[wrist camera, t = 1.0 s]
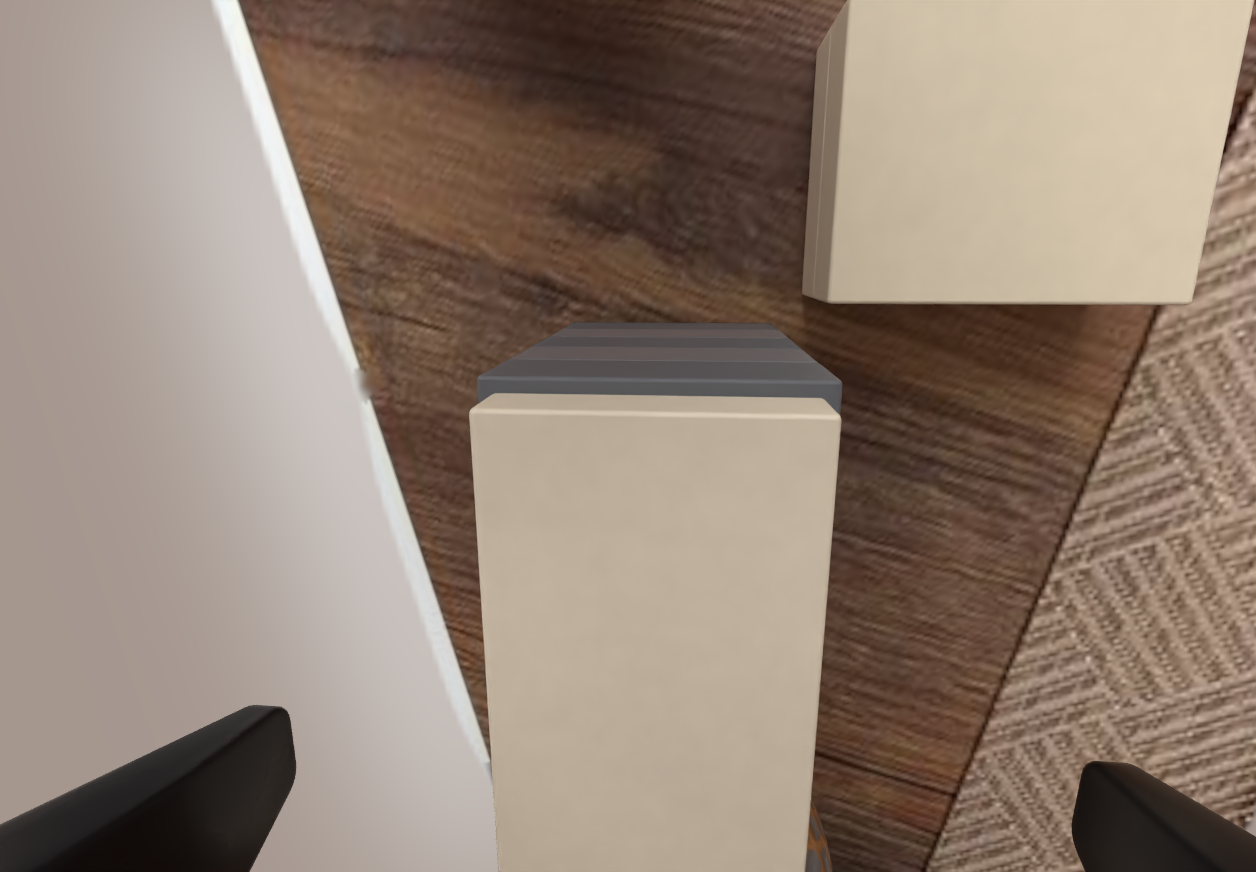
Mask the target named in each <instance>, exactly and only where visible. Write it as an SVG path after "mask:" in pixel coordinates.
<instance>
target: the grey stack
mask: <svg viewBox="0 0 1256 872" xmlns="http://www.w3.org/2000/svg"><path fill="white" fill-rule="evenodd" d="M477 390H478V404H479V403H480V402H482V401H483V400H485V399H486V398H488V397H489V396H491V395H492V394H495V393H524V394H590V395H657V396H723V397H790V398H822V399H824V400H826V402H827V403H828V404H829V405H830V406H831V407H832V408H833V409H834V410H835V411H836V412H837V413H838V414H839V415H840V410H841V397H842V382H841V380H839V379H838V378H837V377H836V376H834V375H833V374H832V373H831V372H830V371H828V370H827V369H826V368H825V367H823V366H822V365H821V364H819V363H818V362H816V361H815V360H814V359H813V358H812V357H810V356H809V355H808V354H807V353H805V352H804V351H803V350H802V349H801V348H800V347H799V346H797V345H796V344H795V343H794V342H792V341H791V340H790V339H789V338H788V337H786V336H785V335H784V334H783V333H782V332H780V331H779V330H778V329H777V328H776V327H774V326H773V325H772V324H770V323H622V322H574V323H572V324H570V325H569V326H567V327H565V328H563V329H562V330H560V331H558V332H556V333H555V334H553V335H551V336H549V337H548V338H546V339H544V340H542V341H540V342H539V343H537V344H535V345H533V346H531V348H529V349H527V350H525V351H523V352H522V353H520V354H518V355H516V356H514V357H513V358H511V359H509V360H507V361H505V362H503V363H501V364H499V365H497V366H496V367H494V368H492V369H490V370H488V371H487V372H485V373H483V374H481V375H479V376H478V378H477Z"/></svg>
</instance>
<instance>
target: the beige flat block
mask: <svg viewBox="0 0 1256 872" xmlns="http://www.w3.org/2000/svg"><path fill="white" fill-rule="evenodd" d="M469 418H470V433H471V449H472V465H473V480H474V496H475V512H476V527H477V543H478V559H479V574H480V590H481V605H482V621H483V637H484V652H485V668H486V684H487V699H488V715H489V731H490V746H491V762H492V778H493V793H494V809H495V823H496V824H495V825H496V840H497V855H498V871H499V872H805V866H806V854H807V841H808V829H809V817H810V804H811V792H812V779H813V767H814V755H815V742H816V730H817V717H818V705H819V693H820V680H821V668H822V655H823V643H824V631H825V618H826V606H827V593H828V581H829V568H830V556H831V544H832V531H833V519H834V506H835V494H836V482H837V469H838V457H839V444H840V432H841V417H840V415H839V414H838V413H837V412H836V411H835V410H834V409H833V408H832V407H831V406H830V405H829V404H828V403H827V402H826V400H824V399H822V398H790V397H723V396H657V395H590V394H524V393H495V394H492V395H491V396H489V397H488V398H486V399H485V400H483V401H482V402H480V403H479V404H478V405H476V406H475V407H473V408H472V409H471V410H470V412H469Z"/></svg>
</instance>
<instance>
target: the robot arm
mask: <svg viewBox="0 0 1256 872" xmlns="http://www.w3.org/2000/svg"><path fill="white" fill-rule="evenodd" d="M295 774H296V760H295V751H294V745H293V736H292V729H291V721H290V717H289V714H288V712H287V711H286V710H285V709H284V708H282V707H276V706H262V705H252V706H248V707H245V708H243V709H241V710H239V711H237V712H235V713H233V714H230V715H228V716H226V717H224V718H222V719H220V720H218V721H216V722H214V723H212V724H210V725H207V726H206V727H203V728H201V729H199V730H197V731H195V732H193V733H191V734H189V735H186V736H184V737H182V738H180V739H178V740H176V741H174V742H172V743H170V744H168V745H166V746H163V747H162V748H159V749H157V750H155V751H153V752H151V753H149V754H147V755H145V756H143V757H141V758H138V759H136V760H134V761H132V762H130V763H128V764H126V765H124V766H122V767H119V768H117V769H115V770H113V771H111V772H109V773H107V774H105V775H103V776H101V777H99V778H96V779H95V780H92V781H90V782H88V783H86V784H84V785H82V786H80V787H78V788H76V789H74V790H71V791H69V792H67V793H65V794H63V795H61V796H59V797H57V798H55V799H53V800H51V801H49V802H46V803H44V804H42V805H40V806H38V807H36V808H34V809H32V810H30V811H27V812H25V813H23V814H21V815H19V816H17V817H15V818H13V819H11V820H9V821H6V822H5V823H2V824H0V872H250V869H251V868H252V866H253V864H254V862H255V860H256V858H257V856H258V854H259V852H260V850H261V848H262V846H263V844H264V842H265V840H266V838H267V836H268V834H269V832H270V830H271V828H272V826H273V824H274V822H275V820H276V818H277V816H278V814H279V812H280V810H281V808H282V806H283V804H284V802H285V800H286V798H287V796H288V794H289V792H290V790H291V788H292V786H293V783H294V779H295ZM1072 836H1073V841H1074V845H1075V848H1076V851H1077V853H1078V856H1079V858H1080V860H1081V862H1082V865H1083V867H1084V869H1085V872H1256V837H1255V836H1254V835H1252V834H1250V833H1249V832H1247V831H1245V830H1243V829H1242V828H1240V827H1238V826H1237V825H1235V824H1233V823H1232V822H1230V821H1228V820H1226V819H1225V818H1223V817H1221V816H1220V815H1218V814H1216V813H1214V812H1213V811H1211V810H1209V809H1208V808H1206V807H1204V806H1203V805H1201V804H1199V803H1197V802H1196V801H1194V800H1192V799H1191V798H1189V797H1187V796H1186V795H1184V794H1182V793H1180V792H1179V791H1177V790H1175V789H1174V788H1172V787H1170V786H1168V785H1167V784H1165V783H1163V782H1162V781H1160V780H1158V779H1157V778H1155V777H1153V776H1151V775H1150V774H1148V773H1146V772H1145V771H1143V770H1141V769H1140V768H1138V767H1136V766H1134V765H1131V764H1128V763H1119V762H1104V761H1092V762H1089V763H1088V764H1086V766H1085V767H1084V768H1083V771H1082V774H1081V779H1080V784H1079V789H1078V794H1077V799H1076V804H1075V809H1074V814H1073V819H1072Z"/></svg>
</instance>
